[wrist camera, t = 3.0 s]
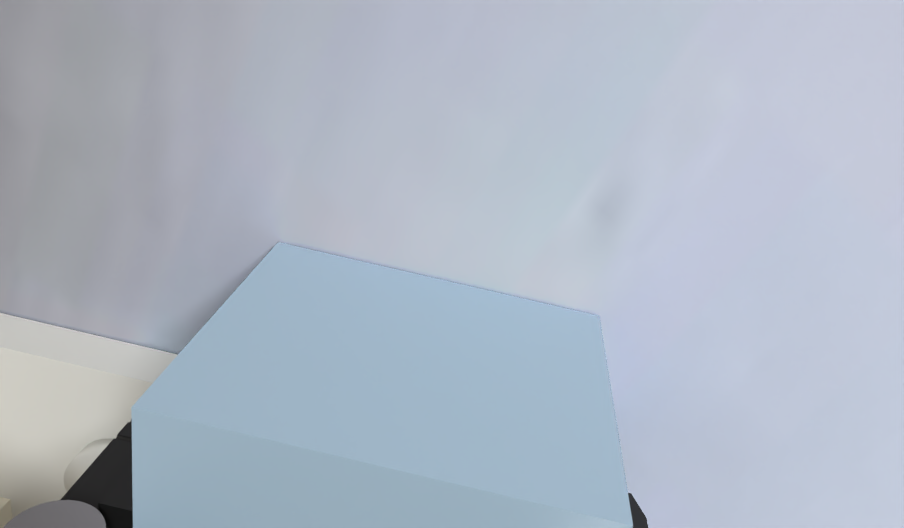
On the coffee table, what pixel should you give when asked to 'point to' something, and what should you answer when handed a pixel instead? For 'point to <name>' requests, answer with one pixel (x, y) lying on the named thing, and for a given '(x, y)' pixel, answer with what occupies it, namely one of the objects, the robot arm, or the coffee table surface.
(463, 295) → the blue brick
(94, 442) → the build plate
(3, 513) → the base brick
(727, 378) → the coffee table surface
